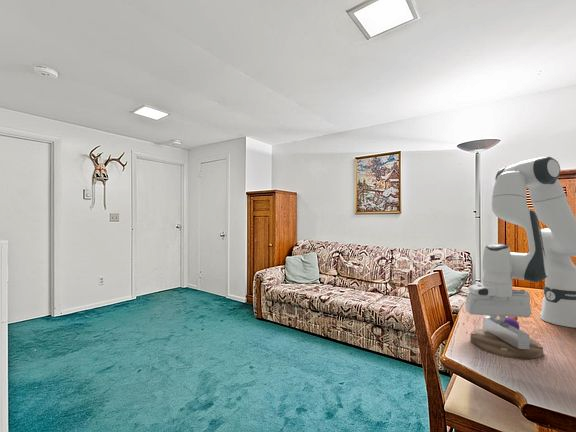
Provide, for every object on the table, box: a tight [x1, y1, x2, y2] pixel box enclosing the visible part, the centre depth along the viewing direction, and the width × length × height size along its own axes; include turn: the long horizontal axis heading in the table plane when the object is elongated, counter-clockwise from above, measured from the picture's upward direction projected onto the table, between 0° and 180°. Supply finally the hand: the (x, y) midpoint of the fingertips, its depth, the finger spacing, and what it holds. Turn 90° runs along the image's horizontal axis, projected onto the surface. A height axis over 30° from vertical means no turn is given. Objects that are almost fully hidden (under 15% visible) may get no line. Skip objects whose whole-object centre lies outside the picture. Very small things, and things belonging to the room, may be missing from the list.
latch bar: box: [483, 316, 531, 349], centre depth 103 cm, size 17×4×5 cm, turn 179°
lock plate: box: [469, 328, 544, 361], centre depth 103 cm, size 20×20×3 cm
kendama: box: [504, 316, 520, 330], centre depth 120 cm, size 6×6×20 cm
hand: (497, 327), depth 110 cm, fingers closed, pressing on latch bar
